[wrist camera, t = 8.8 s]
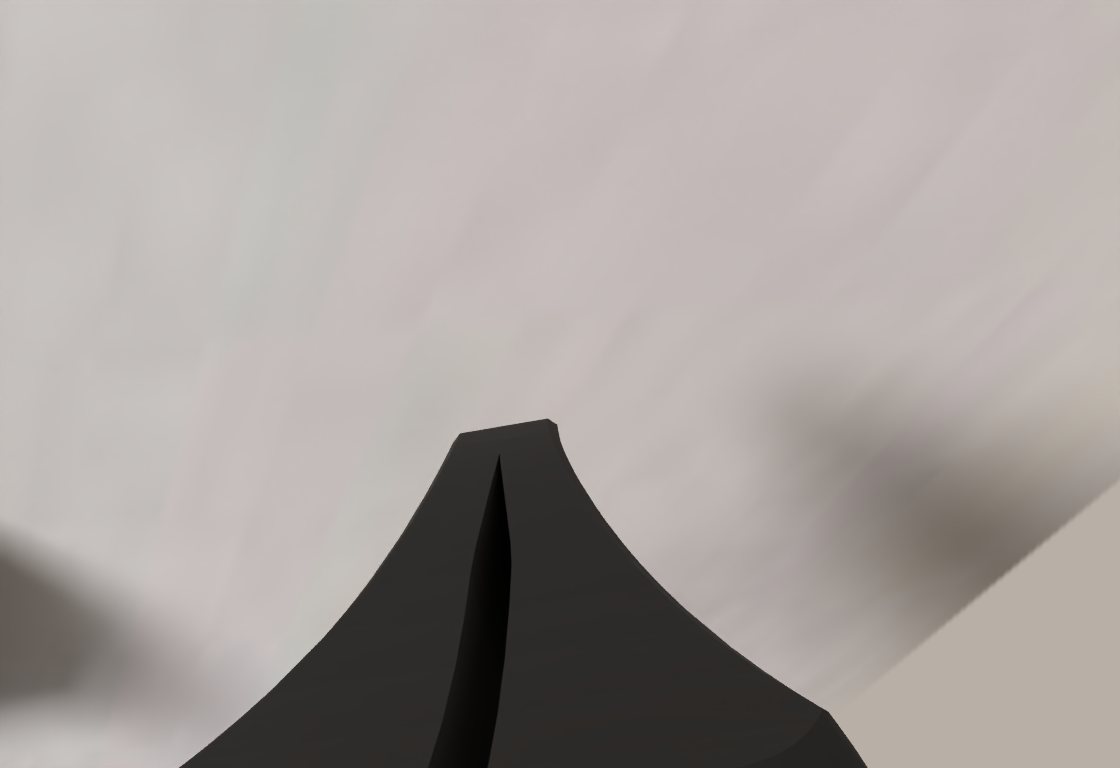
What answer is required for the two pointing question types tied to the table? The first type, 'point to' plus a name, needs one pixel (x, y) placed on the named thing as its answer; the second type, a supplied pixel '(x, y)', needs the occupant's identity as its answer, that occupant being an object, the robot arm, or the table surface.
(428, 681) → the robot arm
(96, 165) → the table surface
